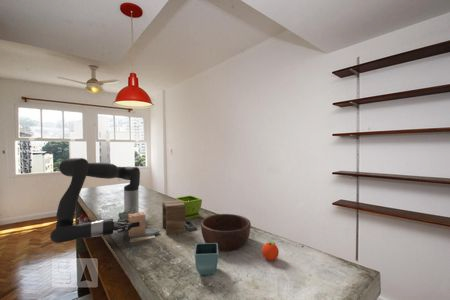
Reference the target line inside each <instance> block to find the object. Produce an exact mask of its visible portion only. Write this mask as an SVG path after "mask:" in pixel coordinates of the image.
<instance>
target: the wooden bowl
mask: <svg viewBox="0 0 450 300" xmlns="http://www.w3.org/2000/svg"><path fill="white" fill-rule="evenodd" d="M251 226H252V224H251V220H249V219H248V218H246V217H245V216H243V215H239V214H234V213H233V214H231V213H218V214H212V215H209V216H206V217H205V218H203V219H202V220H201V222H200V230H201V236H202V239H203V241H204V242H205V243H217V244H218V251H220V252H223V251H224V252H231V251H236V250H239V249H241V248H243V247H244V246H245V245H246V243H247V242H248V240H249V237H250V233H251V228H252V227H251Z"/></svg>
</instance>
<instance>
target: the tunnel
mask: <svg viewBox="0 0 450 300" xmlns="http://www.w3.org/2000/svg"><path fill="white" fill-rule="evenodd" d="M161 218H162V220H161V222H162V229H165V234H166V236H168V235H169V236H170V235H174V234H175V235H176V234H179V233H184V232H186V231H185V230H186V228H185V221H186V220H185V204H184V203H183V202H182V201H181V200H180V199H177V200H175V199H170V200H162V217H161Z"/></svg>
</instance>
